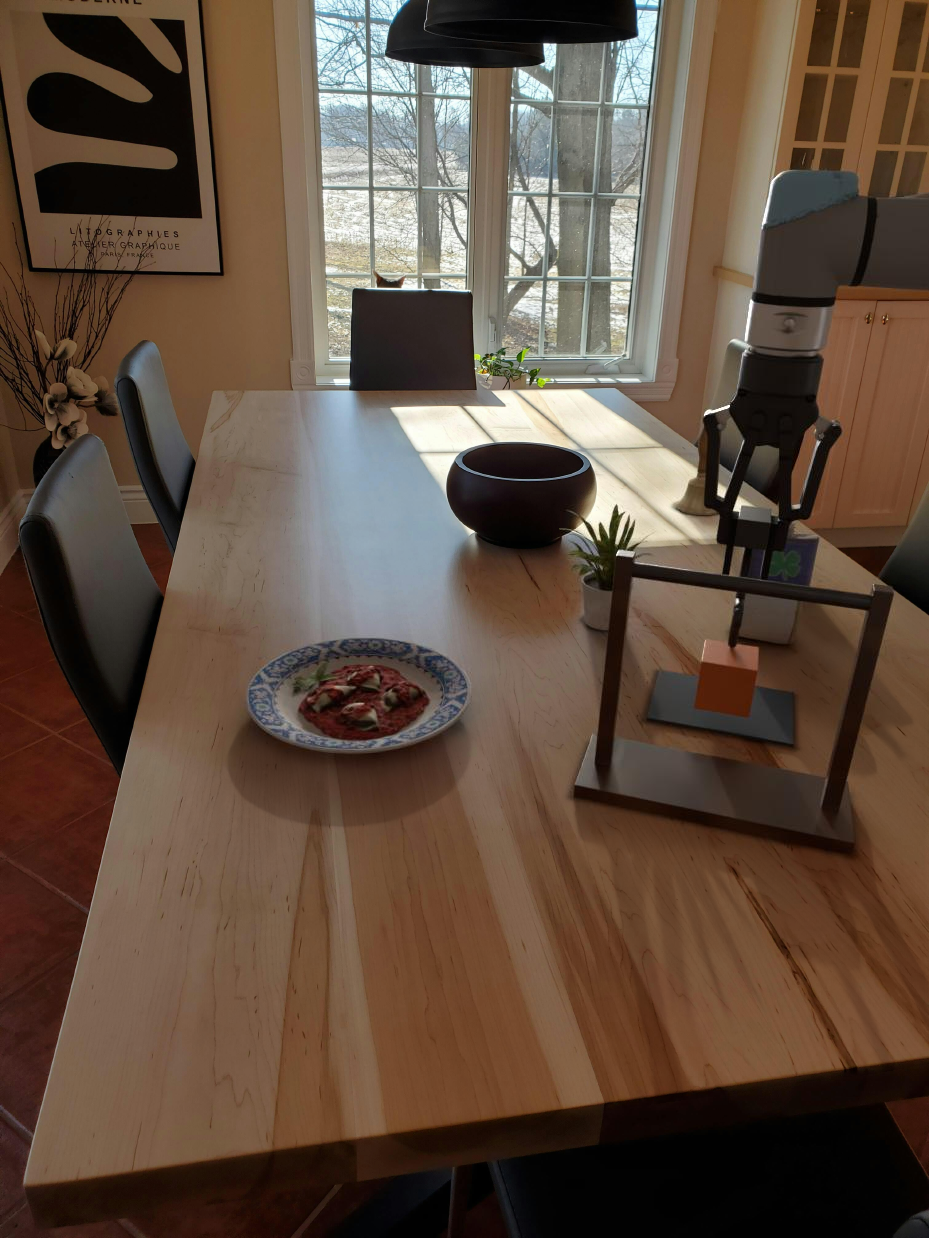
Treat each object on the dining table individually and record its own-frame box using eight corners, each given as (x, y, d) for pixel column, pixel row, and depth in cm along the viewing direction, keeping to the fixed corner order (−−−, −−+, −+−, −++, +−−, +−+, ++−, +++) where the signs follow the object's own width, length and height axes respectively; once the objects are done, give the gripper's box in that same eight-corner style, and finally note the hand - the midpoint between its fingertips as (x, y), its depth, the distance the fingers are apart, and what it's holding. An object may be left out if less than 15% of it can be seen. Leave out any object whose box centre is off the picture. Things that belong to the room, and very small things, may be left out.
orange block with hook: (750, 692, 105) (785, 508, 95) (748, 718, 100) (785, 526, 90) (698, 684, 106) (727, 502, 97) (693, 708, 101) (724, 518, 92)
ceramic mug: (793, 655, 118) (804, 601, 115) (729, 644, 120) (738, 591, 117) (796, 624, 127) (806, 573, 124) (736, 614, 129) (745, 564, 126)
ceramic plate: (517, 706, 105) (518, 684, 103) (342, 801, 88) (340, 776, 87) (374, 633, 121) (373, 613, 120) (203, 701, 104) (200, 678, 103)
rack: (845, 793, 91) (902, 570, 80) (851, 855, 83) (916, 615, 72) (591, 744, 98) (613, 533, 87) (573, 797, 89) (594, 570, 79)
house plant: (550, 594, 134) (558, 488, 127) (644, 600, 133) (657, 494, 126) (548, 637, 121) (557, 522, 114) (652, 644, 120) (667, 529, 113)
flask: (807, 588, 138) (820, 522, 134) (810, 595, 136) (824, 529, 131) (745, 582, 140) (756, 517, 135) (747, 590, 137) (759, 524, 132)
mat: (792, 694, 109) (793, 691, 109) (793, 747, 98) (793, 744, 98) (659, 672, 113) (659, 669, 113) (646, 720, 103) (646, 717, 103)
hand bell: (695, 518, 167) (707, 433, 160) (665, 505, 173) (676, 422, 166) (728, 511, 170) (742, 428, 163) (698, 499, 177) (710, 418, 170)
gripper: (693, 349, 85) (663, 577, 95) (878, 362, 81) (826, 600, 91) (700, 338, 92) (671, 552, 102) (871, 350, 87) (823, 573, 97)
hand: (744, 574), depth 96 cm, fingers closed on orange block with hook, 3 cm apart
